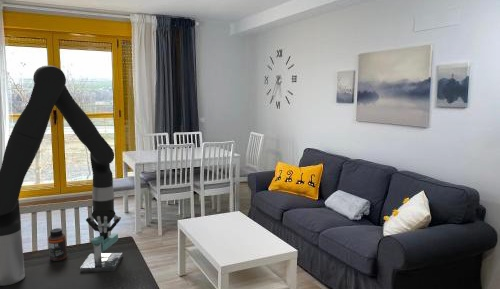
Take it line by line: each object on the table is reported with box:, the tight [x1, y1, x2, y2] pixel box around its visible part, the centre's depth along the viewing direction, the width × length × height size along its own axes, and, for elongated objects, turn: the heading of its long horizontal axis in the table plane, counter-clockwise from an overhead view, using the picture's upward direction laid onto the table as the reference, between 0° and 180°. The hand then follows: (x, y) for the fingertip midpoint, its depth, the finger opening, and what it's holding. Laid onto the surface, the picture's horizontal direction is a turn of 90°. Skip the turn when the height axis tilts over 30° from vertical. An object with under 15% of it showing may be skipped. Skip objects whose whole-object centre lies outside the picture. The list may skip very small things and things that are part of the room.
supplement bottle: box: [47, 227, 68, 262], centre depth 151 cm, size 6×6×11 cm
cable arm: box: [90, 233, 119, 253], centre depth 147 cm, size 4×15×6 cm, turn 170°
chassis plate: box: [79, 243, 123, 273], centre depth 147 cm, size 12×12×10 cm
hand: (104, 241), depth 152 cm, fingers closed
